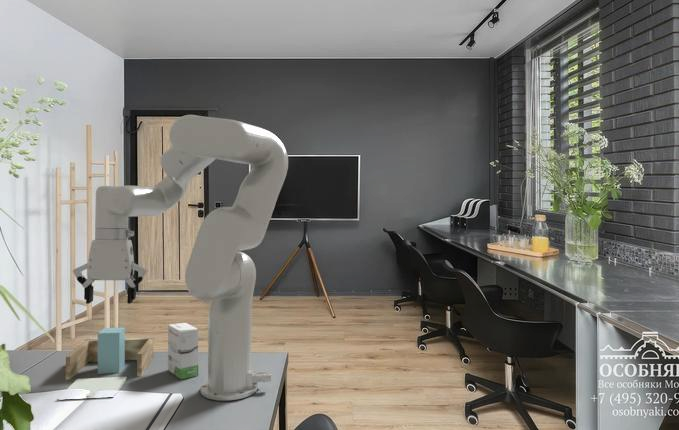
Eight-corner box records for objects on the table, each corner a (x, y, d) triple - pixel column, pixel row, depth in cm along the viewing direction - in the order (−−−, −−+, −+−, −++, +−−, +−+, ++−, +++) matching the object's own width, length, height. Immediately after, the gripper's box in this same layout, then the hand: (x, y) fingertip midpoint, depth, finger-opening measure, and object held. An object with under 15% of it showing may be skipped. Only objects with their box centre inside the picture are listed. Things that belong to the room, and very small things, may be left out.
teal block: (124, 365, 123) (124, 327, 122) (119, 372, 118) (119, 332, 118) (103, 366, 122) (104, 328, 122) (97, 373, 117) (97, 333, 117)
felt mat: (126, 379, 113) (126, 376, 113) (113, 397, 103) (113, 394, 103) (77, 381, 111) (77, 379, 111) (58, 400, 101) (58, 397, 101)
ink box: (199, 375, 116) (199, 328, 116) (179, 380, 113) (179, 331, 113) (185, 366, 123) (186, 321, 123) (166, 370, 120) (167, 323, 120)
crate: (153, 357, 129) (153, 337, 129) (141, 376, 115) (141, 353, 115) (86, 360, 126) (86, 340, 126) (65, 379, 112) (65, 356, 112)
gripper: (151, 234, 124) (149, 299, 125) (79, 233, 121) (78, 299, 122) (144, 237, 117) (142, 305, 117) (68, 235, 114) (67, 306, 114)
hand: (110, 302), depth 120 cm, fingers open, 9 cm apart
